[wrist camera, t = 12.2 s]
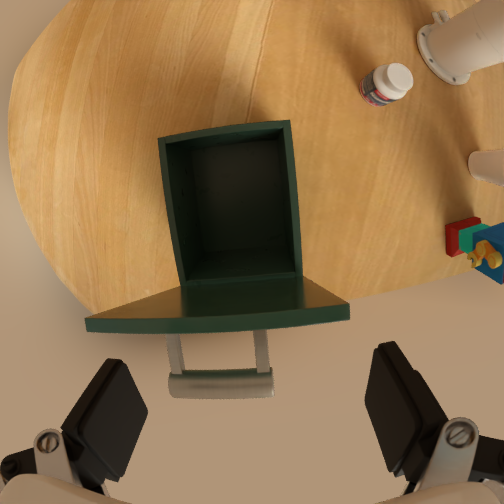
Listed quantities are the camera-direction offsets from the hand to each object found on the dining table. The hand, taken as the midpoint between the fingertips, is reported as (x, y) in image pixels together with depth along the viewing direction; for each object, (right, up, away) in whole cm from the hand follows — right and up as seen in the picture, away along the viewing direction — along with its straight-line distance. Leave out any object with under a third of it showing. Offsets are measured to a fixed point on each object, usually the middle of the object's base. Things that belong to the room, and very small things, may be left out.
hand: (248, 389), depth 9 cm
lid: (-2, +2, +12) cm, 12 cm away
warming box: (-2, +13, +30) cm, 33 cm away
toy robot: (+38, +8, +30) cm, 49 cm away
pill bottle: (+19, +29, +24) cm, 42 cm away
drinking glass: (+41, +21, +26) cm, 53 cm away
